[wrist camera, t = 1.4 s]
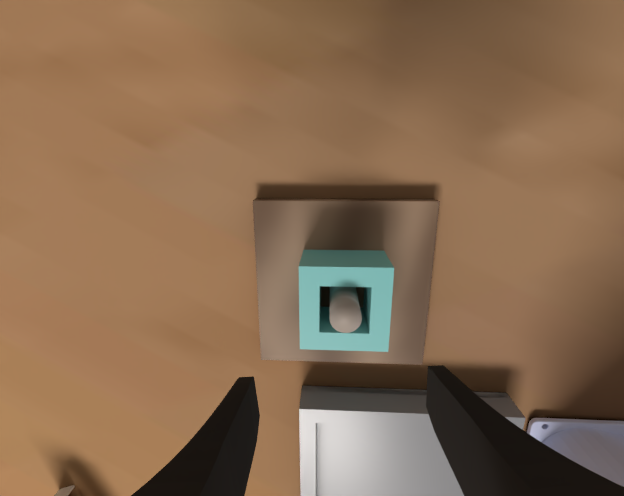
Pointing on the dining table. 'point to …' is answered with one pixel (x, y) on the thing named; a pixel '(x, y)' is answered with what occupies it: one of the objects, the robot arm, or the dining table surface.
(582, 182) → the dining table surface
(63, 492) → the architectural model
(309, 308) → the collar
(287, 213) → the stake board
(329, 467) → the tray
